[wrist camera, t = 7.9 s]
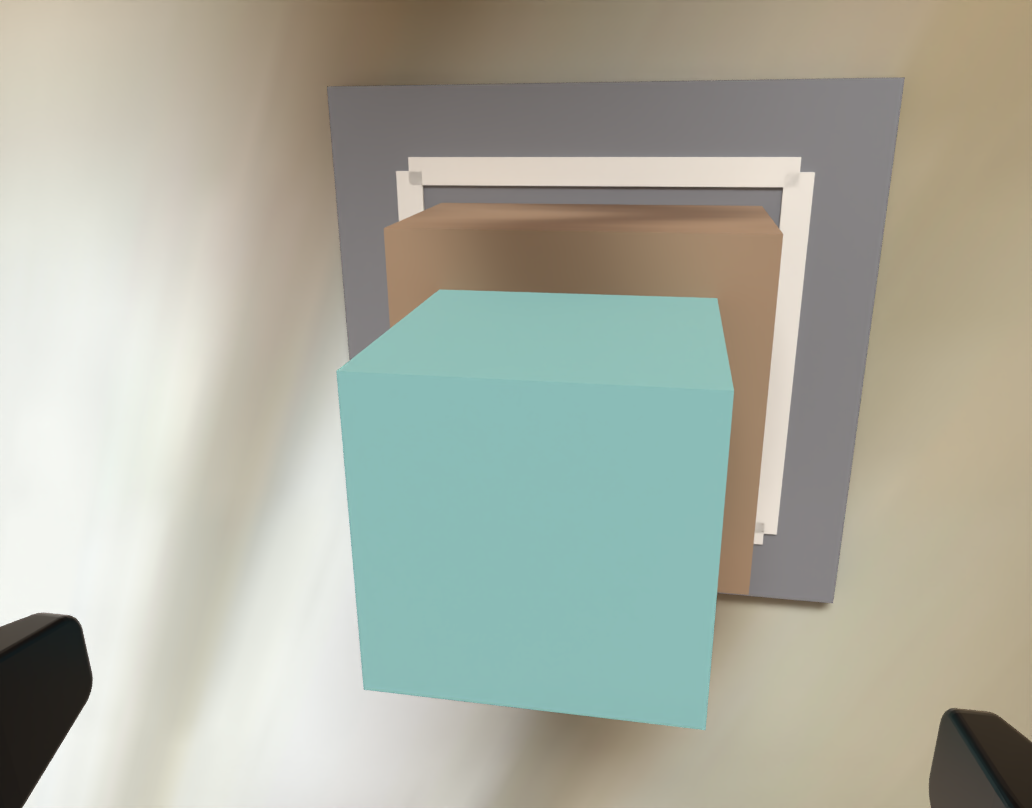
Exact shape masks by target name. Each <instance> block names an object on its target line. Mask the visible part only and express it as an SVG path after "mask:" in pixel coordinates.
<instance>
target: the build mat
mask: <svg viewBox="0 0 1032 808" xmlns="http://www.w3.org/2000/svg"><path fill="white" fill-rule="evenodd" d="M903 86H904V78H844V79H780V80H716V81H651V82H587V83H523V84H459V85H395V86H331V87H327V92H328V104H329V116H330V128H331V140H332V153H333V165H334V177H335V189H336V201H337V213H338V225H339V237H340V250H341V262H342V274H343V286H344V298H345V310H346V322H347V335H348V347H349V359H350V360H351V359H352V358H354V357H355V356H356V355H357V354H359V353H360V352H361V351H362V350H364V349H365V348H366V347H367V346H369V345H370V344H371V343H372V342H374V341H375V340H376V339H378V338H379V337H380V336H381V335H383V334H384V333H385V332H386V331H388V330H389V329H390V319H389V303H388V288H387V272H386V256H385V241H384V228H385V227H387V226H390V225H392V224H394V223H396V222H399V221H401V220H403V219H406V218H408V217H410V216H412V215H415V214H417V213H419V212H422V211H424V210H426V209H428V208H431V207H433V206H435V205H438V204H440V203H518V204H620V205H723V206H762V207H763V208H764V209H765V211H766V212H767V213H768V215H769V216H770V217H771V219H772V220H773V221H774V223H775V224H776V225H777V226H778V228H779V229H780V230H781V232H782V233H783V243H782V253H781V264H780V274H779V285H778V295H777V305H776V316H775V326H774V337H773V347H772V357H771V368H770V378H769V389H768V399H767V409H766V420H765V430H764V440H763V451H762V461H761V472H760V482H759V492H758V503H757V513H756V524H755V534H754V544H753V555H752V565H751V576H750V586H749V595H745V596H756V597H768V598H779V599H790V600H802V601H813V602H824V603H833V599H834V592H835V585H836V577H837V570H838V563H839V555H840V548H841V541H842V533H843V526H844V519H845V511H846V504H847V497H848V489H849V482H850V475H851V467H852V460H853V453H854V445H855V438H856V431H857V423H858V416H859V409H860V401H861V394H862V387H863V379H864V372H865V365H866V357H867V350H868V343H869V335H870V328H871V321H872V313H873V306H874V298H875V291H876V284H877V276H878V269H879V262H880V254H881V247H882V240H883V232H884V225H885V218H886V210H887V203H888V196H889V188H890V181H891V174H892V166H893V159H894V152H895V144H896V137H897V130H898V122H899V115H900V108H901V100H902V93H903ZM717 593H721V592H717ZM722 594H732V593H722ZM734 595H743V594H734Z"/></svg>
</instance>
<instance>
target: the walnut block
mask: <svg viewBox="0 0 1032 808" xmlns="http://www.w3.org/2000/svg"><path fill="white" fill-rule="evenodd" d="M384 241H385V256H386V272H387V288H388V303H389V319H390V328H391V327H393V326H394V325H395V324H396V323H398V322H399V321H400V320H401V319H403V318H404V317H405V316H407V315H408V314H409V313H410V312H412V311H413V310H414V309H415V308H417V307H418V306H419V305H420V304H422V303H423V302H424V301H425V300H427V299H428V298H429V297H430V296H432V295H433V294H434V293H436V292H437V291H438V290H471V291H503V292H535V293H567V294H599V295H632V296H664V297H696V298H717V300H718V305H719V311H720V316H721V322H722V327H723V333H724V338H725V344H726V349H727V355H728V360H729V366H730V371H731V377H732V382H733V388H734V398H733V409H732V421H731V433H730V445H729V457H728V469H727V481H726V492H725V504H724V516H723V528H722V540H721V552H720V564H719V575H718V587H717V592H721V593H732V594H743V595H749V586H750V576H751V565H752V555H753V544H754V534H755V524H756V513H757V503H758V492H759V482H760V472H761V461H762V451H763V440H764V430H765V420H766V409H767V399H768V389H769V378H770V368H771V357H772V347H773V337H774V326H775V316H776V305H777V295H778V285H779V274H780V264H781V253H782V243H783V233H782V232H781V230H780V229H779V228H778V226H777V225H776V224H775V223H774V221H773V220H772V219H771V217H770V216H769V215H768V213H767V212H766V211H765V209H764V208H763V207H762V206H723V205H620V204H518V203H440V204H438V205H435V206H433V207H431V208H428V209H426V210H424V211H422V212H419V213H417V214H415V215H412V216H410V217H408V218H406V219H403V220H401V221H399V222H396V223H394V224H392V225H390V226H387V227H385V228H384Z"/></svg>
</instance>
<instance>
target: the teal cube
mask: <svg viewBox="0 0 1032 808" xmlns="http://www.w3.org/2000/svg"><path fill="white" fill-rule="evenodd" d="M337 383H338V394H339V406H340V418H341V429H342V441H343V453H344V464H345V476H346V488H347V499H348V511H349V523H350V534H351V546H352V558H353V569H354V581H355V593H356V604H357V616H358V628H359V639H360V651H361V663H362V674H363V686H364V690H372V691H380V692H388V693H397V694H405V695H414V696H422V697H431V698H439V699H448V700H456V701H464V702H473V703H481V704H490V705H498V706H507V707H515V708H524V709H532V710H540V711H549V712H557V713H566V714H574V715H583V716H591V717H600V718H608V719H616V720H625V721H633V722H642V723H650V724H659V725H667V726H675V727H684V728H692V729H701V730H705V729H706V718H707V706H708V694H709V682H710V670H711V658H712V646H713V635H714V623H715V611H716V599H717V587H718V575H719V564H720V552H721V540H722V528H723V516H724V504H725V492H726V481H727V469H728V457H729V445H730V433H731V421H732V409H733V398H734V388H733V382H732V377H731V371H730V366H729V360H728V355H727V349H726V344H725V338H724V333H723V327H722V322H721V316H720V311H719V305H718V300H717V298H696V297H664V296H632V295H599V294H567V293H535V292H503V291H471V290H438V291H437V292H436V293H434V294H433V295H432V296H430V297H429V298H428V299H427V300H425V301H424V302H423V303H422V304H420V305H419V306H418V307H417V308H415V309H414V310H413V311H412V312H410V313H409V314H408V315H407V316H405V317H404V318H403V319H401V320H400V321H399V322H398V323H396V324H395V325H394V326H393V327H391V328H390V329H389V330H388V331H386V332H385V333H384V334H383V335H381V336H380V337H379V338H378V339H376V340H375V341H374V342H372V343H371V344H370V345H369V346H367V347H366V348H365V349H364V350H362V351H361V352H360V353H359V354H357V355H356V356H355V357H354V358H352V359H351V360H350V361H349V362H347V363H346V364H345V365H343V366H342V367H341V368H340V369H338V370H337Z"/></svg>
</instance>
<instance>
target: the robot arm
mask: <svg viewBox="0 0 1032 808" xmlns="http://www.w3.org/2000/svg"><path fill="white" fill-rule="evenodd" d="M92 681H93V677H92V671H91V666H90V662H89V657H88V653H87V648H86V644H85V639H84V634H83V630H82V627H81V624H80V623H79V621H78V620H77V619H76V618H74V617H72V616H70V615H62V614H53V613H37V614H33V615H30V616H28V617H25V618H22V619H20V620H17V621H14V622H12V623H9V624H6V625H4V626H1V627H0V808H22V807H23V806H24V804H25V802H26V801H27V799H28V797H29V796H30V794H31V793H32V791H33V789H34V788H35V786H36V784H37V783H38V781H39V779H40V778H41V776H42V774H43V773H44V771H45V770H46V768H47V766H48V765H49V763H50V761H51V760H52V758H53V756H54V755H55V753H56V751H57V750H58V748H59V747H60V745H61V743H62V742H63V740H64V738H65V737H66V735H67V733H68V732H69V730H70V728H71V727H72V725H73V724H74V722H75V720H76V719H77V717H78V715H79V714H80V712H81V710H82V709H83V707H84V705H85V704H86V702H87V700H88V698H89V695H90V693H91V689H92ZM929 797H930V805H931V808H1032V742H1031V741H1030V740H1029V739H1027V738H1026V737H1025V736H1024V735H1022V734H1021V733H1020V732H1019V731H1017V730H1016V729H1015V728H1013V727H1012V726H1011V725H1010V724H1008V723H1007V722H1006V721H1005V720H1003V719H1002V718H1001V717H999V716H998V715H996V714H994V713H991V712H986V711H976V710H967V709H957V708H951V709H949V710H947V711H946V712H945V713H944V715H943V716H942V718H941V722H940V726H939V731H938V736H937V741H936V746H935V751H934V757H933V762H932V767H931V772H930V778H929Z"/></svg>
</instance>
